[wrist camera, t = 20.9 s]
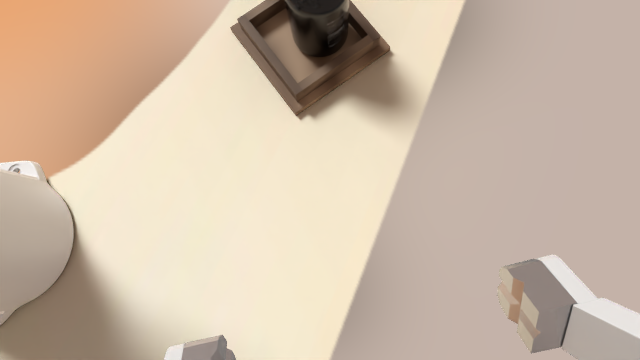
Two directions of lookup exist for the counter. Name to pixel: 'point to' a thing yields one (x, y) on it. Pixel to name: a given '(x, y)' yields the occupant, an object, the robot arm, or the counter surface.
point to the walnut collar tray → (297, 67)
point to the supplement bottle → (318, 25)
